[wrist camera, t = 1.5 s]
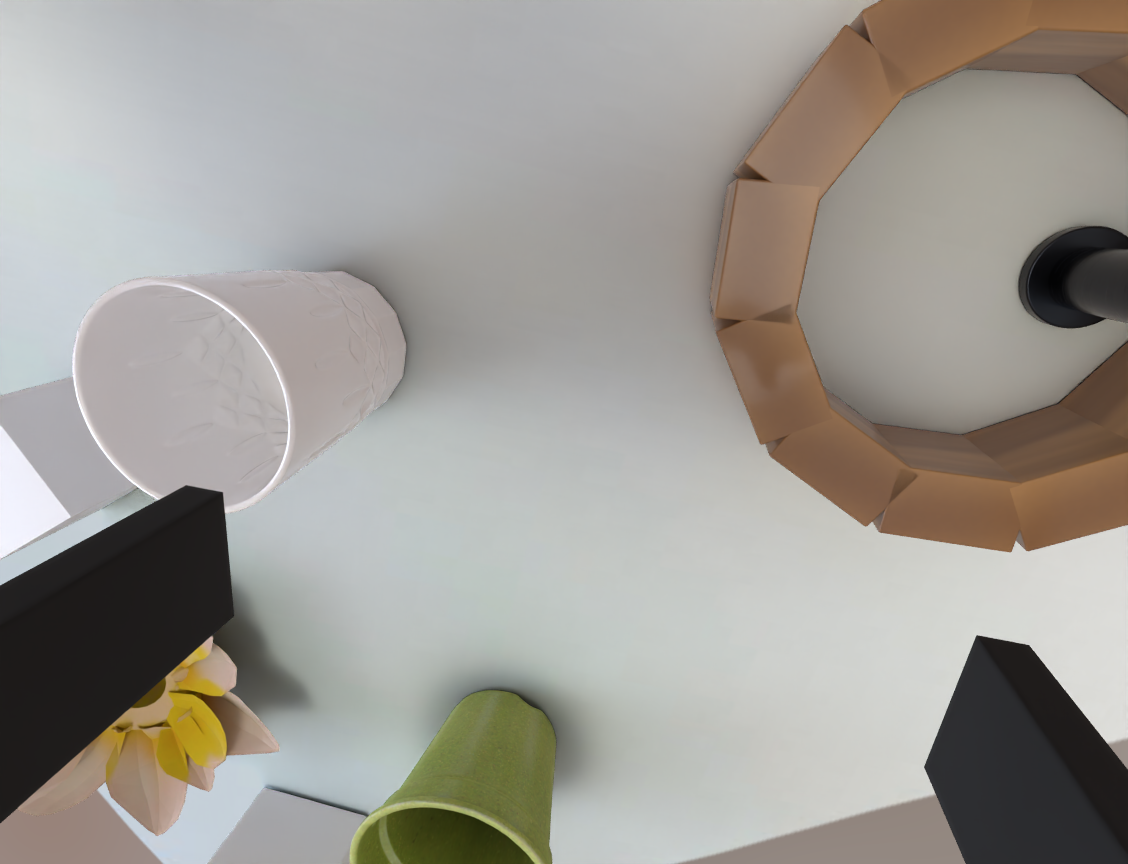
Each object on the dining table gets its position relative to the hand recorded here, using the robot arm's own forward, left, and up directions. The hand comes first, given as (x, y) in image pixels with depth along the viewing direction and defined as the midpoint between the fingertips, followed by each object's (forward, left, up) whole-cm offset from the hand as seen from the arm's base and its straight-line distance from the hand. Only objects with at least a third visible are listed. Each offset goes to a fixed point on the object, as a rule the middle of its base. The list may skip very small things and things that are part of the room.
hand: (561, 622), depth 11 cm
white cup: (0, -14, -18) cm, 23 cm away
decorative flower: (+20, -24, -18) cm, 36 cm away
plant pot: (+21, -5, -18) cm, 28 cm away
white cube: (+7, -28, -18) cm, 34 cm away
